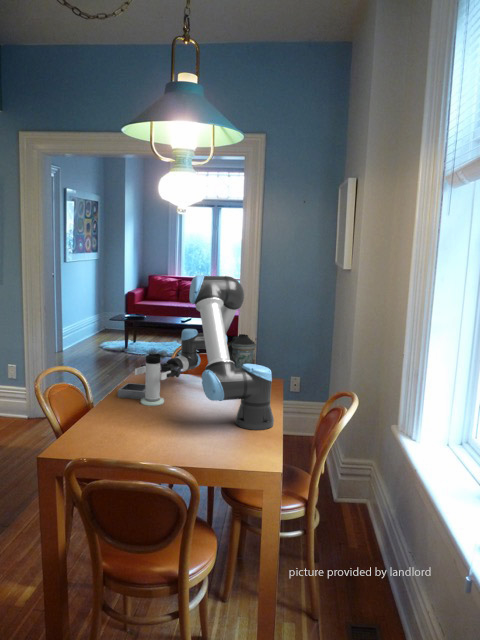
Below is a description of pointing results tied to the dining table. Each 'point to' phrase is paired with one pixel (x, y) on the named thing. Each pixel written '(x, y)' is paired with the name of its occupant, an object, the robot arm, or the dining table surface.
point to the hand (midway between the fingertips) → (148, 374)
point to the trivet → (152, 402)
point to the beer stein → (241, 350)
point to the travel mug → (152, 378)
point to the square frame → (132, 391)
